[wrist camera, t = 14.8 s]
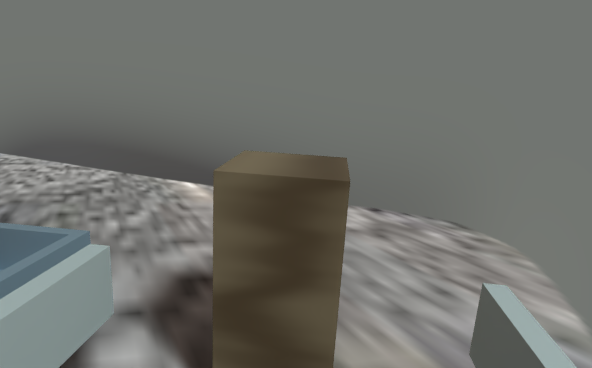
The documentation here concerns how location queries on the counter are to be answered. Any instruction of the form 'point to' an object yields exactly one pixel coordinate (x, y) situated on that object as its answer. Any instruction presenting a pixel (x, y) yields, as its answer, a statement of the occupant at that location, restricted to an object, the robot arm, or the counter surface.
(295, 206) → the walnut block
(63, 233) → the tray
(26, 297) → the robot arm
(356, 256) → the counter surface
